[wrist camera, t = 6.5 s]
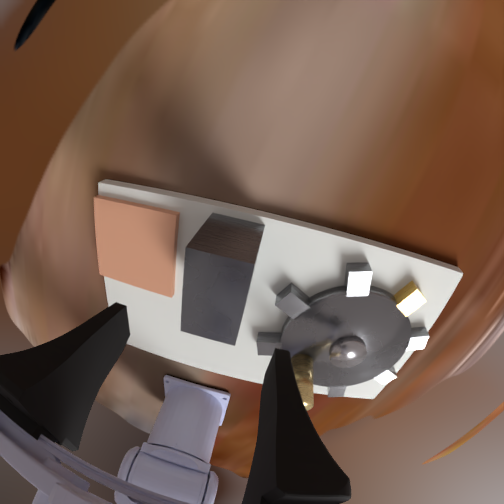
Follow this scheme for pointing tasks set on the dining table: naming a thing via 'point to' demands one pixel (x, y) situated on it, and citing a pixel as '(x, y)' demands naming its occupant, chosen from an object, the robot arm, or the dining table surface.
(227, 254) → the grey rectangular block
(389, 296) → the sprocket
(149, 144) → the dining table surface
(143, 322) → the board
